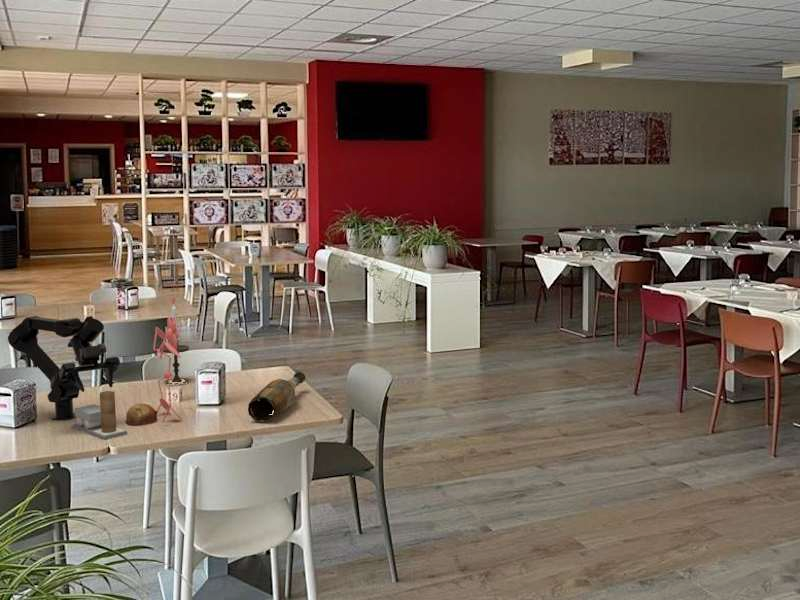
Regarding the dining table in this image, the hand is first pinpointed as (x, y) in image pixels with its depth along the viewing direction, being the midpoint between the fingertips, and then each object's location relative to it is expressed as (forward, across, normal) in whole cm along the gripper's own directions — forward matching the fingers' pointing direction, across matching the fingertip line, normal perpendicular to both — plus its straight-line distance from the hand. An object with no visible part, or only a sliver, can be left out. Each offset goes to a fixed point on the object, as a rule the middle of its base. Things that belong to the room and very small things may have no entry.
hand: (97, 389), depth 280 cm
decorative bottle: (+20, +60, -2) cm, 64 cm away
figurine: (+12, +27, +8) cm, 30 cm away
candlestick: (-20, +48, +40) cm, 66 cm away
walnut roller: (+14, 0, +3) cm, 14 cm away
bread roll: (+10, +14, +10) cm, 20 cm away
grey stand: (+11, -1, +8) cm, 14 cm away
